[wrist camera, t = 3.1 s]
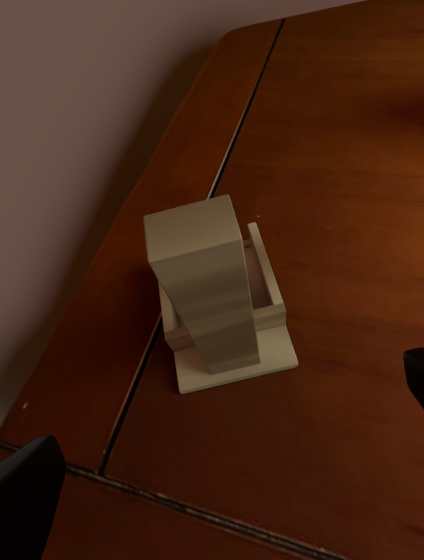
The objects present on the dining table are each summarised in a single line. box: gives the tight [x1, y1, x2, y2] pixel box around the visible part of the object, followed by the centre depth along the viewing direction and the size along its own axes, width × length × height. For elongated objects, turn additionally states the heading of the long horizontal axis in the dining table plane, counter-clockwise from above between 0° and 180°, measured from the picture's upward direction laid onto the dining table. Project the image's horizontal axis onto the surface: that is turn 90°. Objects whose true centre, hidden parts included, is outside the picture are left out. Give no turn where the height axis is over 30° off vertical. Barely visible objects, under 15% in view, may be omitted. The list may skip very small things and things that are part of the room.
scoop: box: [143, 195, 298, 394], centre depth 18 cm, size 10×7×13 cm
